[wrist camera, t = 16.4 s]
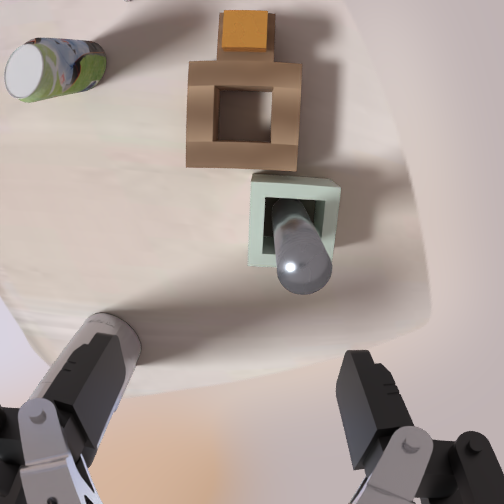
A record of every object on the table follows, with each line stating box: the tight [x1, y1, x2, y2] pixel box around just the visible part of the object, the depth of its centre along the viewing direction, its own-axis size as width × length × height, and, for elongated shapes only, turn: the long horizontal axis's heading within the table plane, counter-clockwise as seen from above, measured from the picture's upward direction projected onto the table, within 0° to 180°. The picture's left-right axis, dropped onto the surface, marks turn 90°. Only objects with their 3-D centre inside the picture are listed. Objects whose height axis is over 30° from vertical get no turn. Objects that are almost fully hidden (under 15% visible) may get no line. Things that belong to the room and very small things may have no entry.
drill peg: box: [271, 198, 332, 295], centre depth 27 cm, size 4×4×14 cm
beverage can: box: [4, 38, 106, 103], centre depth 22 cm, size 6×7×12 cm
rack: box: [248, 174, 341, 267], centre depth 31 cm, size 8×8×5 cm
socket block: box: [186, 13, 302, 171], centre depth 27 cm, size 15×10×4 cm, turn 178°
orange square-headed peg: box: [222, 10, 268, 52], centre depth 24 cm, size 4×4×6 cm
